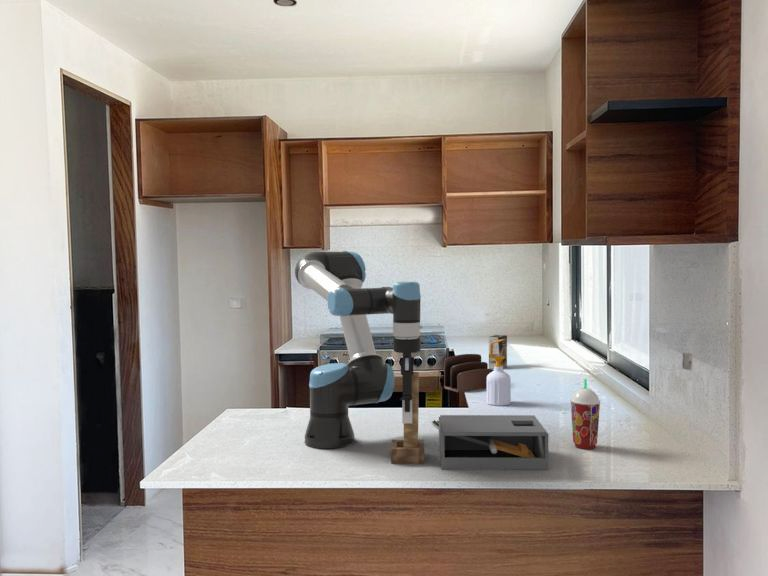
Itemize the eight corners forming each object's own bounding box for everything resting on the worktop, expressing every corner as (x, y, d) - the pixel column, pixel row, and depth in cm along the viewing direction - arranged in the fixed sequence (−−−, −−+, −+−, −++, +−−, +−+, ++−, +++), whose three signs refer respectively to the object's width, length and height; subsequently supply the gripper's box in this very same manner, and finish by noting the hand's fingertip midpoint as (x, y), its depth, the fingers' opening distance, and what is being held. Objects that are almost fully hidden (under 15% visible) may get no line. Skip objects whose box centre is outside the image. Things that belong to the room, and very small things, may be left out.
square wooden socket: (391, 463, 177) (391, 449, 177) (392, 453, 186) (392, 439, 186) (424, 463, 177) (424, 449, 177) (423, 453, 186) (423, 439, 186)
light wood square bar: (403, 460, 180) (404, 374, 178) (403, 455, 184) (404, 371, 182) (417, 460, 179) (418, 374, 178) (417, 456, 183) (418, 371, 182)
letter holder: (443, 388, 277) (443, 356, 276) (480, 383, 287) (480, 352, 286) (457, 393, 268) (457, 359, 268) (495, 387, 278) (495, 354, 278)
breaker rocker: (449, 440, 173) (452, 431, 173) (446, 426, 188) (449, 417, 188) (536, 466, 172) (539, 457, 172) (526, 449, 187) (529, 441, 187)
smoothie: (605, 449, 188) (606, 380, 187) (580, 452, 186) (581, 382, 185) (589, 441, 196) (589, 375, 195) (564, 444, 194) (565, 377, 193)
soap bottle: (508, 406, 242) (508, 341, 241) (484, 405, 245) (484, 340, 244) (512, 401, 251) (512, 338, 249) (488, 400, 254) (488, 337, 252)
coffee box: (500, 369, 321) (500, 337, 320) (488, 368, 324) (488, 336, 323) (507, 366, 328) (507, 335, 327) (495, 365, 332) (495, 334, 331)
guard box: (441, 469, 172) (441, 431, 172) (438, 449, 190) (438, 415, 190) (548, 469, 171) (548, 432, 170) (535, 449, 189) (535, 415, 188)
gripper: (420, 341, 170) (421, 429, 171) (420, 333, 189) (420, 411, 190) (392, 342, 170) (392, 429, 172) (394, 333, 190) (395, 411, 191)
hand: (407, 419), depth 181 cm, fingers open, 6 cm apart
